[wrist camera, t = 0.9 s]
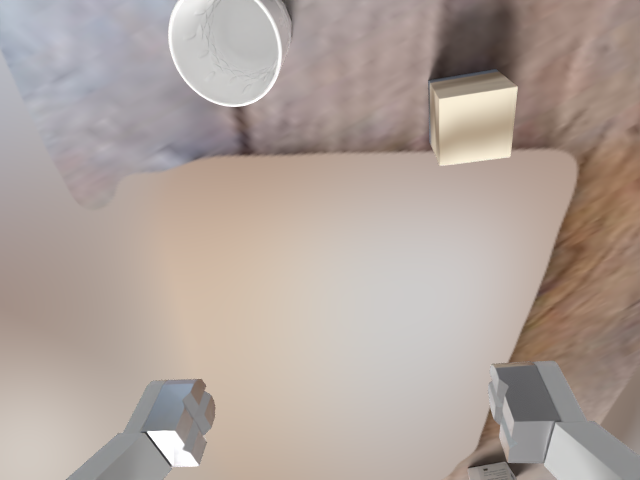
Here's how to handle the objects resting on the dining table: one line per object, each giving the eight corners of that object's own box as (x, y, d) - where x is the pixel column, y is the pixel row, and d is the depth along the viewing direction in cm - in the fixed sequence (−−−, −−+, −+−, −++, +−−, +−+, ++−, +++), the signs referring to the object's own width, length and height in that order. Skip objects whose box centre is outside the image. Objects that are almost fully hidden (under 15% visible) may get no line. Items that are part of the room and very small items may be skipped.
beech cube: (428, 80, 37) (439, 98, 32) (495, 68, 36) (517, 86, 31) (429, 140, 40) (439, 166, 35) (491, 132, 39) (510, 157, 34)
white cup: (311, 56, 36) (299, 85, 28) (236, 86, 38) (204, 120, 30) (277, -42, 32) (250, -42, 24) (194, -3, 34) (144, 9, 26)
